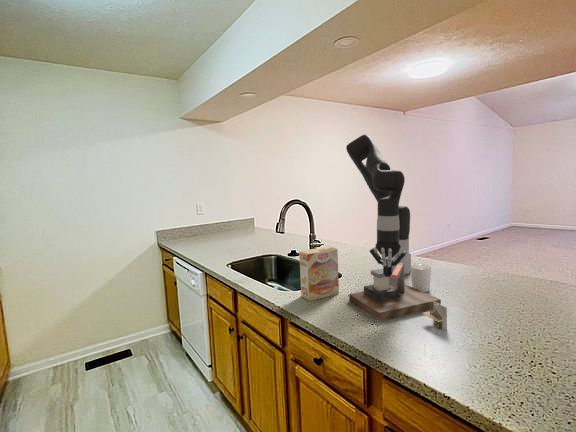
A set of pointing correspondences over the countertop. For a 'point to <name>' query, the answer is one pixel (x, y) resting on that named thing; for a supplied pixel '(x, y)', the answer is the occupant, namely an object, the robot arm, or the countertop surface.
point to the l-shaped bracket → (399, 276)
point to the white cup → (421, 277)
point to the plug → (380, 280)
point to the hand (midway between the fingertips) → (387, 276)
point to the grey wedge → (438, 315)
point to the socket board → (392, 301)
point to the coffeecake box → (319, 273)
